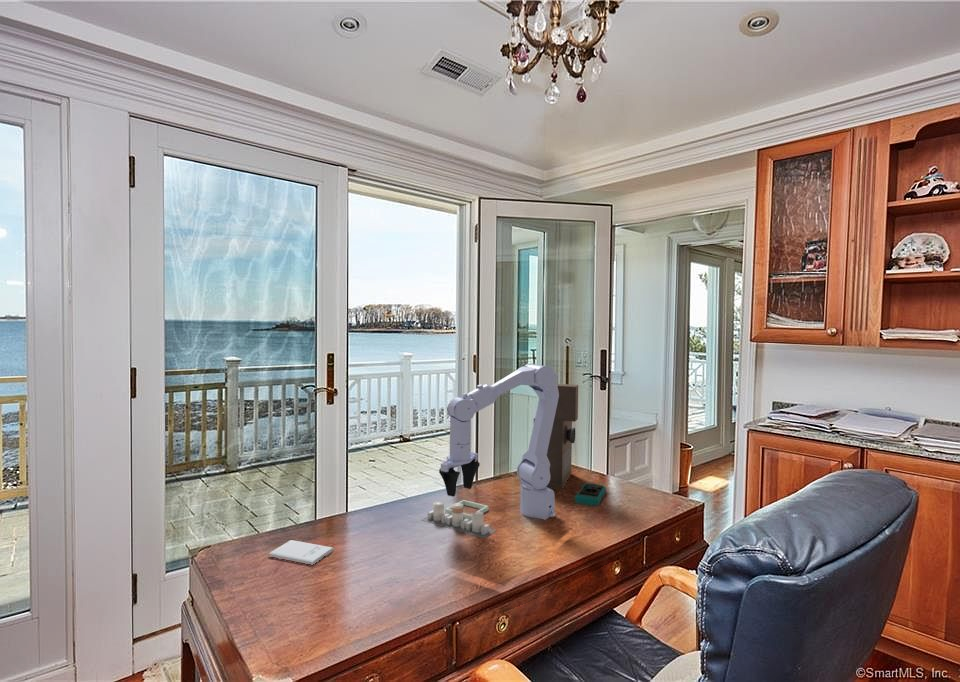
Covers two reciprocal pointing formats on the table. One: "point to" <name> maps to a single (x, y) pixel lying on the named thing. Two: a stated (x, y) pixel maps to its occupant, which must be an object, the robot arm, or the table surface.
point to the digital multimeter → (590, 494)
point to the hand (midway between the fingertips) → (459, 491)
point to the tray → (467, 516)
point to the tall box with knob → (562, 436)
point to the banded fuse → (457, 514)
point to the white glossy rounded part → (438, 511)
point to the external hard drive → (301, 552)
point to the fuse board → (465, 525)
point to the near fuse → (477, 522)
